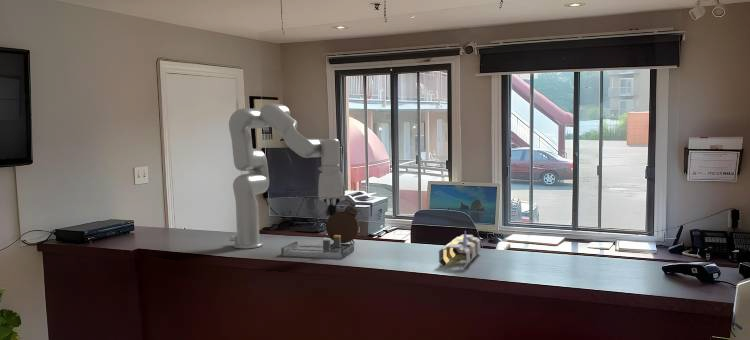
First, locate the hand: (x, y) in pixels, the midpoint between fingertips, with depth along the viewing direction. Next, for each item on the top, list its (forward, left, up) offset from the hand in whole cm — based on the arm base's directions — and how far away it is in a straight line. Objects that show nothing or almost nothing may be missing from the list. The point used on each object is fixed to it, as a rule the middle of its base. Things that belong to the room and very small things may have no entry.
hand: (332, 215), depth 221 cm
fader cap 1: (-1, -4, -13) cm, 14 cm away
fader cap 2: (+1, +3, -13) cm, 14 cm away
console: (-6, -1, -16) cm, 17 cm away
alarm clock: (-2, +19, -16) cm, 25 cm away
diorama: (+51, -1, -16) cm, 54 cm away
